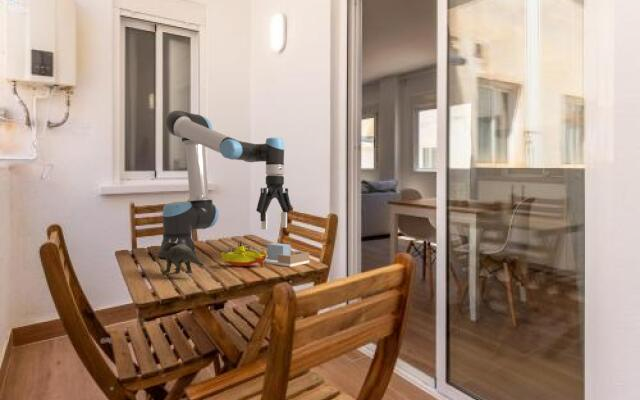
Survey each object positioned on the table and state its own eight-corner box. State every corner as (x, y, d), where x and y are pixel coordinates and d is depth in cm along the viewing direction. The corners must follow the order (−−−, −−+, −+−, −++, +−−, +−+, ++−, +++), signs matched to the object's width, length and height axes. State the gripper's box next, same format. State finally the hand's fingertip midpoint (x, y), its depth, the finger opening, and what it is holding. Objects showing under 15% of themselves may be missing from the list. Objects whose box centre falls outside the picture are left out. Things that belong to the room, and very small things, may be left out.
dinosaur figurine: (206, 274, 132) (206, 242, 132) (184, 278, 126) (183, 244, 125) (175, 266, 146) (175, 237, 146) (153, 270, 140) (153, 239, 140)
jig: (228, 256, 169) (228, 247, 169) (248, 253, 178) (248, 245, 178) (290, 266, 146) (290, 256, 146) (309, 262, 155) (309, 252, 155)
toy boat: (262, 268, 143) (262, 242, 142) (218, 266, 146) (217, 240, 146) (268, 265, 149) (268, 240, 149) (225, 263, 153) (225, 238, 152)
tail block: (267, 258, 159) (267, 244, 159) (275, 257, 163) (275, 243, 162) (282, 260, 153) (282, 245, 153) (290, 259, 157) (290, 244, 157)
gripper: (260, 174, 147) (259, 231, 148) (300, 176, 165) (299, 227, 166) (247, 174, 152) (247, 229, 153) (287, 176, 170) (287, 225, 171)
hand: (274, 228), depth 159 cm, fingers open, 11 cm apart
